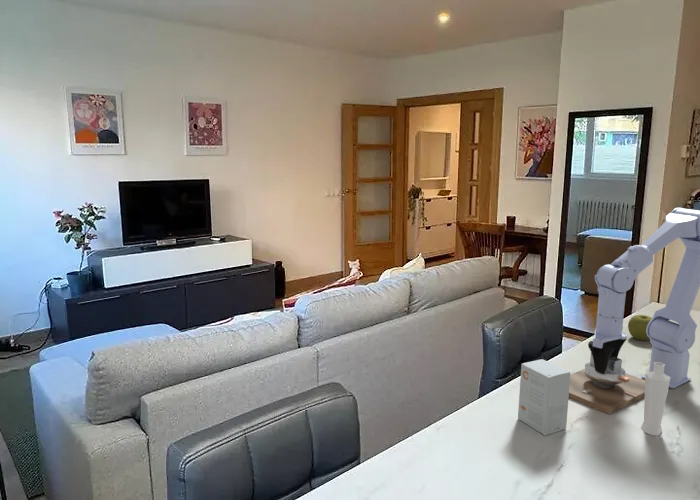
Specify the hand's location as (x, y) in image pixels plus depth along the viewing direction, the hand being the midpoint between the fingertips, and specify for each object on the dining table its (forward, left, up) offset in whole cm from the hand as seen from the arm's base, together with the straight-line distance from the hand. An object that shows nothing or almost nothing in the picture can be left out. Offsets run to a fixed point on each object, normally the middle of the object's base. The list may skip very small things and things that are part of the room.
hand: (605, 367), depth 130 cm
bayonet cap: (0, +1, -2) cm, 2 cm away
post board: (0, 0, -6) cm, 6 cm away
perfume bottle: (+10, +17, -6) cm, 21 cm away
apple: (-43, -13, -6) cm, 45 cm away
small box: (+27, +2, -6) cm, 28 cm away
